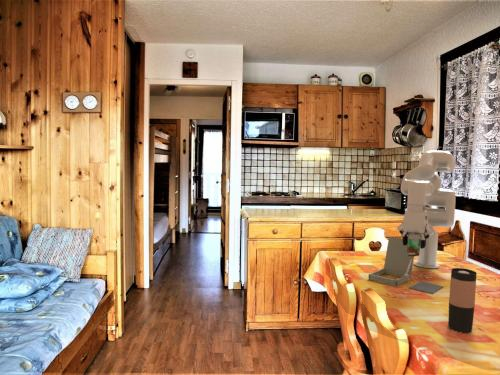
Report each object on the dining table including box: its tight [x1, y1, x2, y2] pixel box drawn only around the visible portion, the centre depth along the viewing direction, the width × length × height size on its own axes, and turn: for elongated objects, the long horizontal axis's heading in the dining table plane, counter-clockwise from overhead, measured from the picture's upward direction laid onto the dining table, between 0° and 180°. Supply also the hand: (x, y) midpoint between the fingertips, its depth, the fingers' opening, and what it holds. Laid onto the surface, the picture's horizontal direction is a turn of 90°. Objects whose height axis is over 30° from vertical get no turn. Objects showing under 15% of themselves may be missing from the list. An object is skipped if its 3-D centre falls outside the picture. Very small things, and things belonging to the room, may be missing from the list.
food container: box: [407, 232, 422, 257], centre depth 180 cm, size 12×6×10 cm, turn 161°
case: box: [368, 236, 415, 287], centre depth 189 cm, size 21×14×18 cm, turn 137°
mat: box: [408, 280, 444, 295], centre depth 177 cm, size 14×10×1 cm
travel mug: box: [447, 267, 478, 334], centre depth 133 cm, size 8×8×20 cm
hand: (413, 246), depth 180 cm, fingers closed on food container, 7 cm apart
